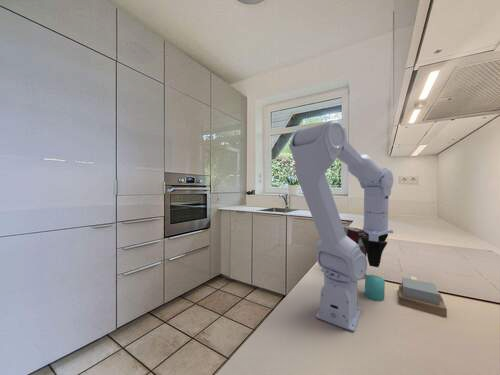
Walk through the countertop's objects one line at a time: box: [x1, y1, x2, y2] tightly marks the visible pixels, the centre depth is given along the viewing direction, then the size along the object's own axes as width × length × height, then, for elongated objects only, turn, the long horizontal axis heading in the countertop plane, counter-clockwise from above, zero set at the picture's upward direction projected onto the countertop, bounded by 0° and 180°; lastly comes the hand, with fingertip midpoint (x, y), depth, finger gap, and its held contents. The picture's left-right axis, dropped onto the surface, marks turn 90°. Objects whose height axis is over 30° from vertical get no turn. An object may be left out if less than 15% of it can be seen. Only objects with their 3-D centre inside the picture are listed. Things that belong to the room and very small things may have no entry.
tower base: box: [398, 283, 448, 318], centre depth 55 cm, size 9×9×2 cm
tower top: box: [401, 276, 441, 305], centre depth 55 cm, size 7×7×2 cm
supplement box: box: [343, 225, 367, 280], centre depth 72 cm, size 9×5×16 cm, turn 25°
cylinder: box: [364, 274, 386, 302], centre depth 57 cm, size 5×5×5 cm
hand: (375, 261), depth 58 cm, fingers open, 7 cm apart
